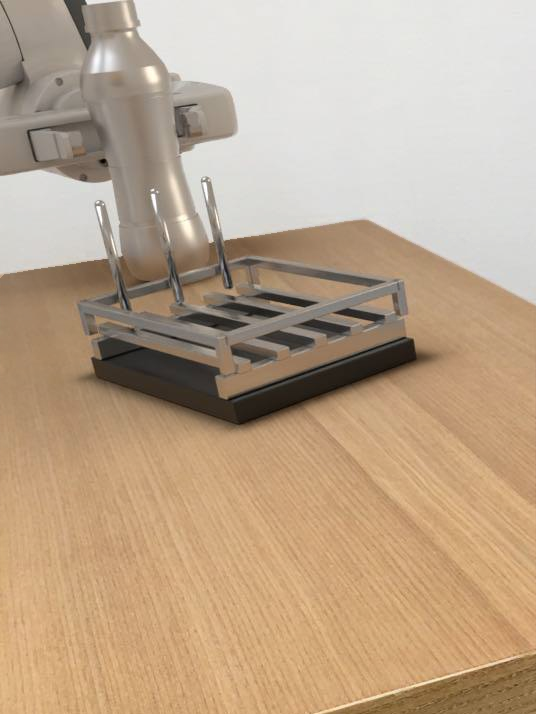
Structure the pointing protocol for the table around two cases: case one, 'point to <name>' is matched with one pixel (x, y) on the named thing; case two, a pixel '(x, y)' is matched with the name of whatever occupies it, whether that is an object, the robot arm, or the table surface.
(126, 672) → the table surface
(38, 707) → the table surface
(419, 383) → the table surface
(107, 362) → the dish rack
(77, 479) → the table surface
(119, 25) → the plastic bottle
